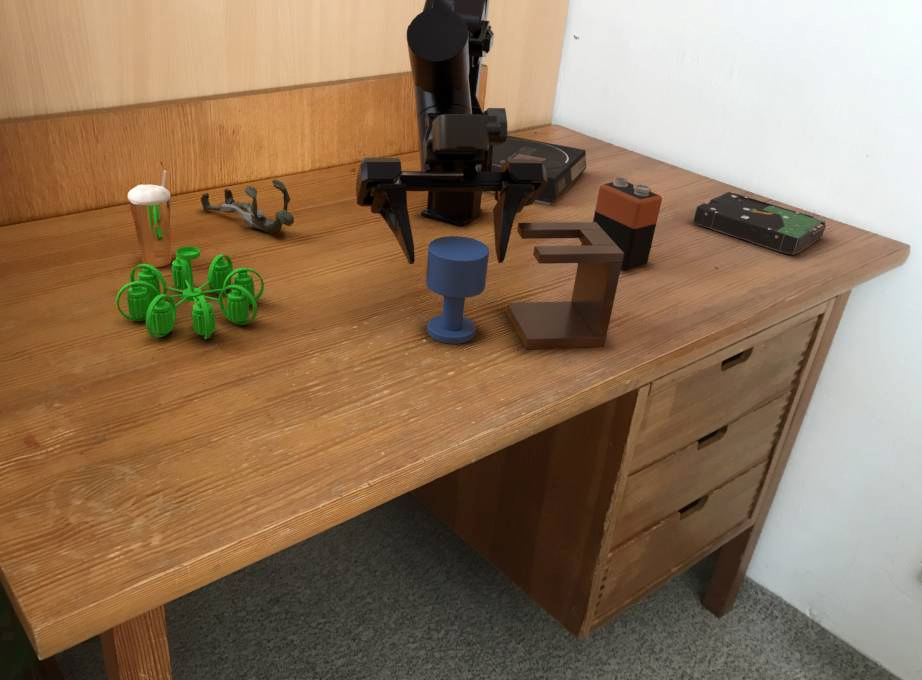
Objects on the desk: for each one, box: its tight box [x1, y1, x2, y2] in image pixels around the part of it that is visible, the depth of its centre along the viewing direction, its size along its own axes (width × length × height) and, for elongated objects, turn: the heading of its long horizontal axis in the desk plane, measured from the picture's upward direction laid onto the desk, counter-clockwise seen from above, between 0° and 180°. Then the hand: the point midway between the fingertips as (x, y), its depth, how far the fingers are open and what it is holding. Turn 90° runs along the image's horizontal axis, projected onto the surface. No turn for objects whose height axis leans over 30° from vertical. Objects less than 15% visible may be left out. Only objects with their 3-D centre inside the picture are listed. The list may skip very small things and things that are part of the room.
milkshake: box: [127, 170, 172, 269], centre depth 94 cm, size 4×5×10 cm
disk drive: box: [693, 191, 827, 256], centre depth 115 cm, size 10×3×15 cm
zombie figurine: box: [200, 179, 295, 235], centre depth 105 cm, size 5×7×15 cm
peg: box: [425, 235, 490, 345], centre depth 83 cm, size 6×6×10 cm
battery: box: [592, 176, 663, 271], centre depth 102 cm, size 4×7×10 cm, turn 35°
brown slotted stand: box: [505, 221, 624, 350], centre depth 85 cm, size 8×8×10 cm
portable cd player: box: [485, 134, 587, 206], centre depth 128 cm, size 16×17×4 cm
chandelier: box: [115, 246, 265, 340], centre depth 84 cm, size 15×15×7 cm
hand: (457, 262), depth 82 cm, fingers open, 9 cm apart
